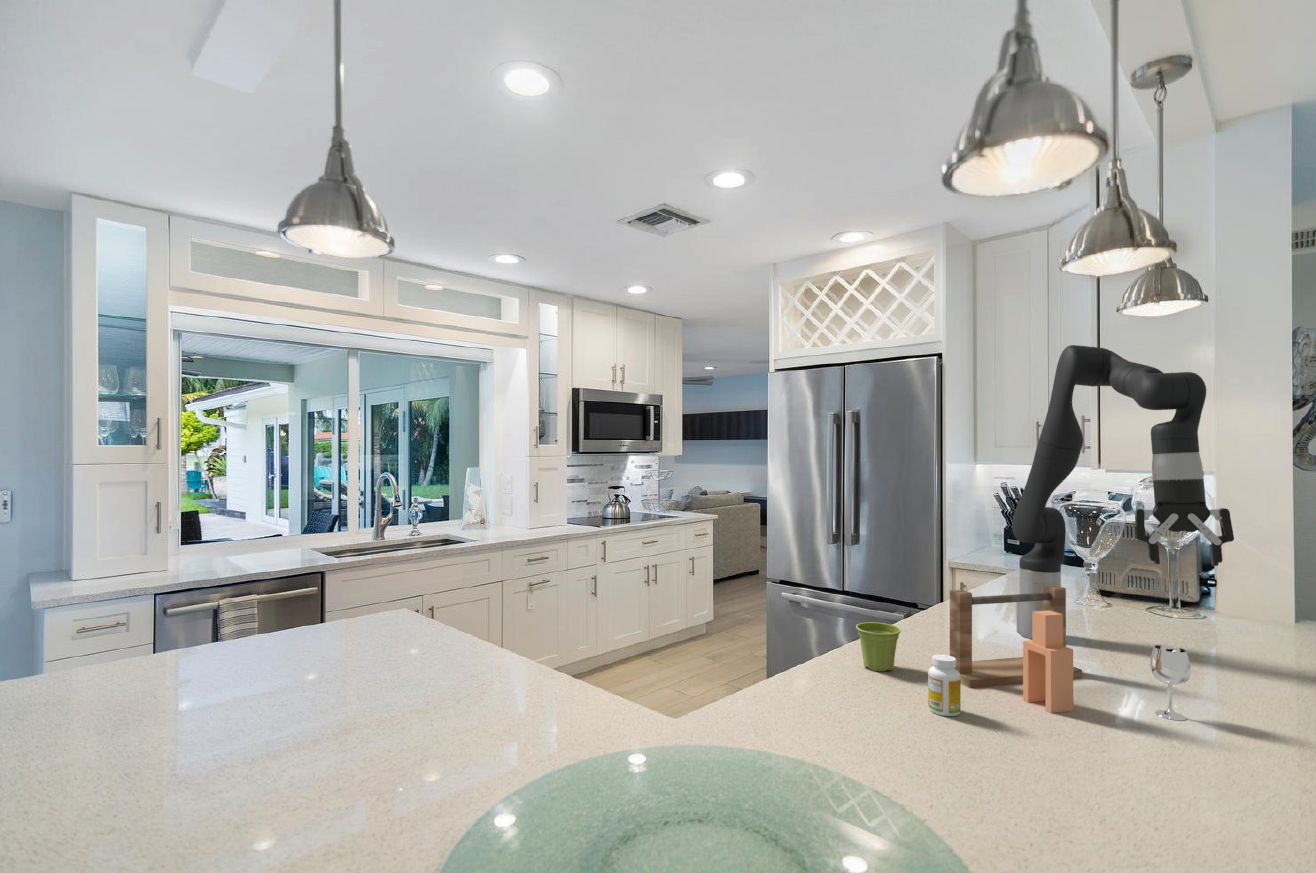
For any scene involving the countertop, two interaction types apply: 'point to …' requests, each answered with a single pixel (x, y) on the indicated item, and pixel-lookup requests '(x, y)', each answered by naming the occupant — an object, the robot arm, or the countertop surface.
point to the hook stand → (996, 668)
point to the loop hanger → (1048, 664)
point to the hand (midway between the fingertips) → (1185, 564)
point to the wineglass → (1170, 673)
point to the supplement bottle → (944, 686)
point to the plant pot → (878, 645)
